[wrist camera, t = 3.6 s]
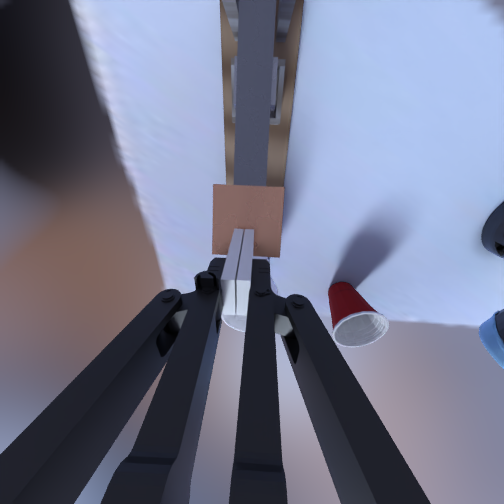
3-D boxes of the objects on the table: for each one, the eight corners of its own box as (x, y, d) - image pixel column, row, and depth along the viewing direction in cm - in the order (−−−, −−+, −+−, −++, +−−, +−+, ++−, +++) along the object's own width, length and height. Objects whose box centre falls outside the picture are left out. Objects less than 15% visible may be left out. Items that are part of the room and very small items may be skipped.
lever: (226, 3, 19) (216, -66, 14) (291, 4, 19) (301, -65, 14) (221, 247, 23) (212, 254, 18) (275, 249, 22) (279, 257, 18)
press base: (222, 0, 26) (181, -127, 13) (301, 1, 25) (341, -126, 13) (228, 201, 39) (211, 237, 26) (280, 204, 39) (288, 241, 26)
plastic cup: (350, 310, 53) (371, 353, 43) (311, 301, 52) (323, 344, 42) (373, 278, 47) (403, 320, 37) (329, 268, 46) (348, 308, 36)
